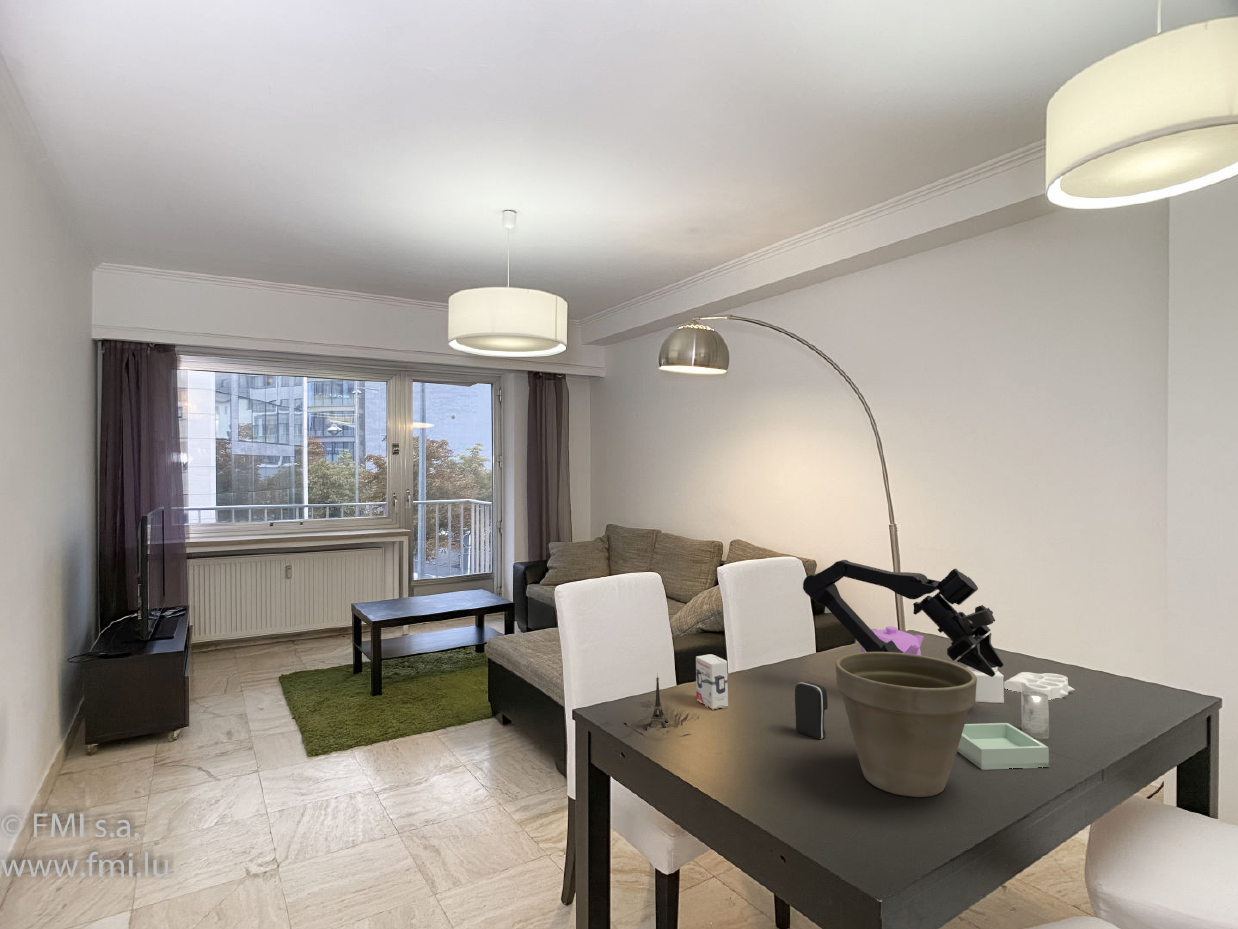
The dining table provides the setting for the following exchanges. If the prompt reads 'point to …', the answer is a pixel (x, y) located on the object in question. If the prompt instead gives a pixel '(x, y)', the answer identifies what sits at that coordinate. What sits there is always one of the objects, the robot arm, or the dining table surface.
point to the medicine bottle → (989, 686)
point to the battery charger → (810, 709)
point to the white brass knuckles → (1040, 684)
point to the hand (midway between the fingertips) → (998, 671)
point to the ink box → (711, 680)
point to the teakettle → (900, 640)
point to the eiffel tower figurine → (659, 717)
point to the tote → (1001, 747)
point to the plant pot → (905, 717)
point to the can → (1035, 714)
